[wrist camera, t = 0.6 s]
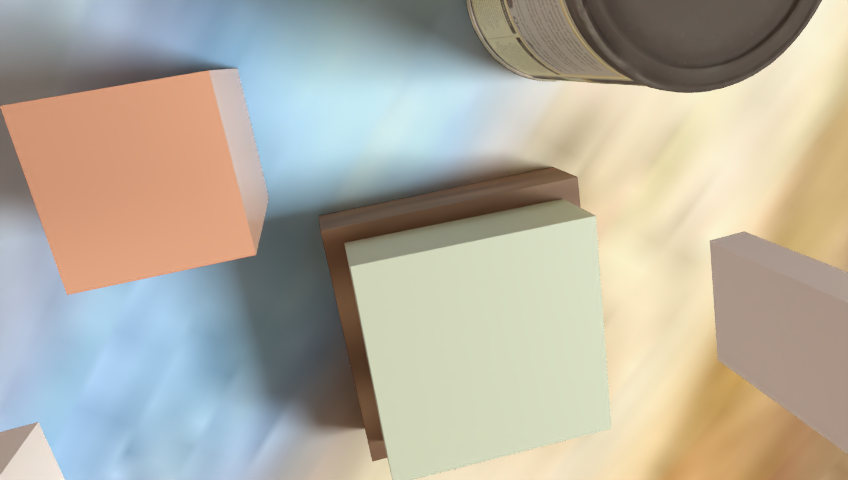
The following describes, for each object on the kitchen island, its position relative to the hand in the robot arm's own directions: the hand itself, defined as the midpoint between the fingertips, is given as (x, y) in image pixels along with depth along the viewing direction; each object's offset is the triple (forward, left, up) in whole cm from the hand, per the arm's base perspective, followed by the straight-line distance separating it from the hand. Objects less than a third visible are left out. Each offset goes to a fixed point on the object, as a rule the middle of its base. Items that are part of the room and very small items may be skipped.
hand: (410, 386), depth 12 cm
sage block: (+9, +5, -21) cm, 23 cm away
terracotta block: (-3, -8, -24) cm, 26 cm away
